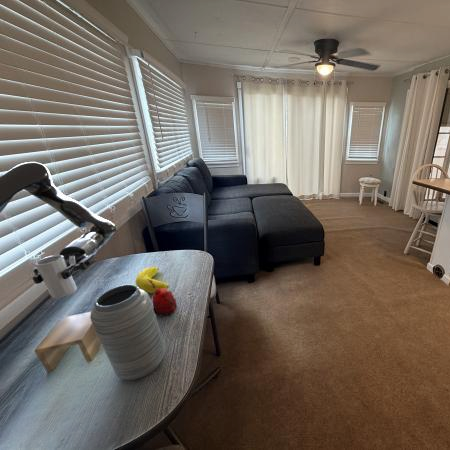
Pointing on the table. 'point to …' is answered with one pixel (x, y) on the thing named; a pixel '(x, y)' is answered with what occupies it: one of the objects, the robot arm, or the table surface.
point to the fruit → (143, 281)
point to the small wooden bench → (68, 340)
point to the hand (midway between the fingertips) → (50, 278)
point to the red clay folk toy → (163, 301)
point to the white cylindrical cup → (55, 276)
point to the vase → (128, 331)
